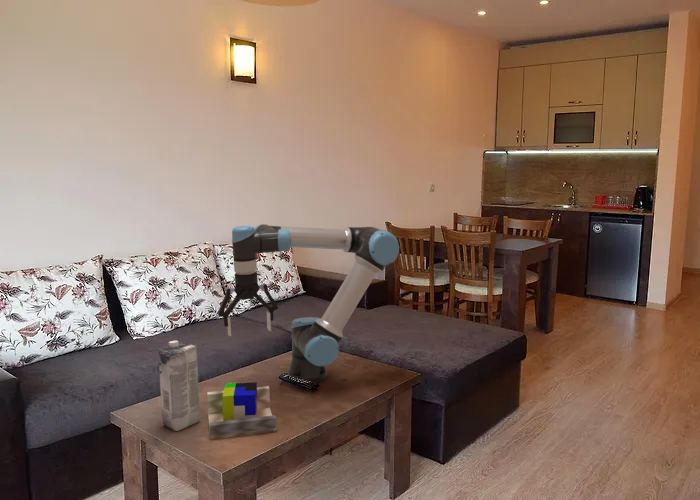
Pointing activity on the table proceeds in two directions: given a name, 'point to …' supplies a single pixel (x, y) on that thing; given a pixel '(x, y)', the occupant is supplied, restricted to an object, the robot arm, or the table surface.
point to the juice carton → (179, 385)
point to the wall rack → (241, 426)
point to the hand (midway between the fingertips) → (249, 332)
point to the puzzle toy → (239, 401)
